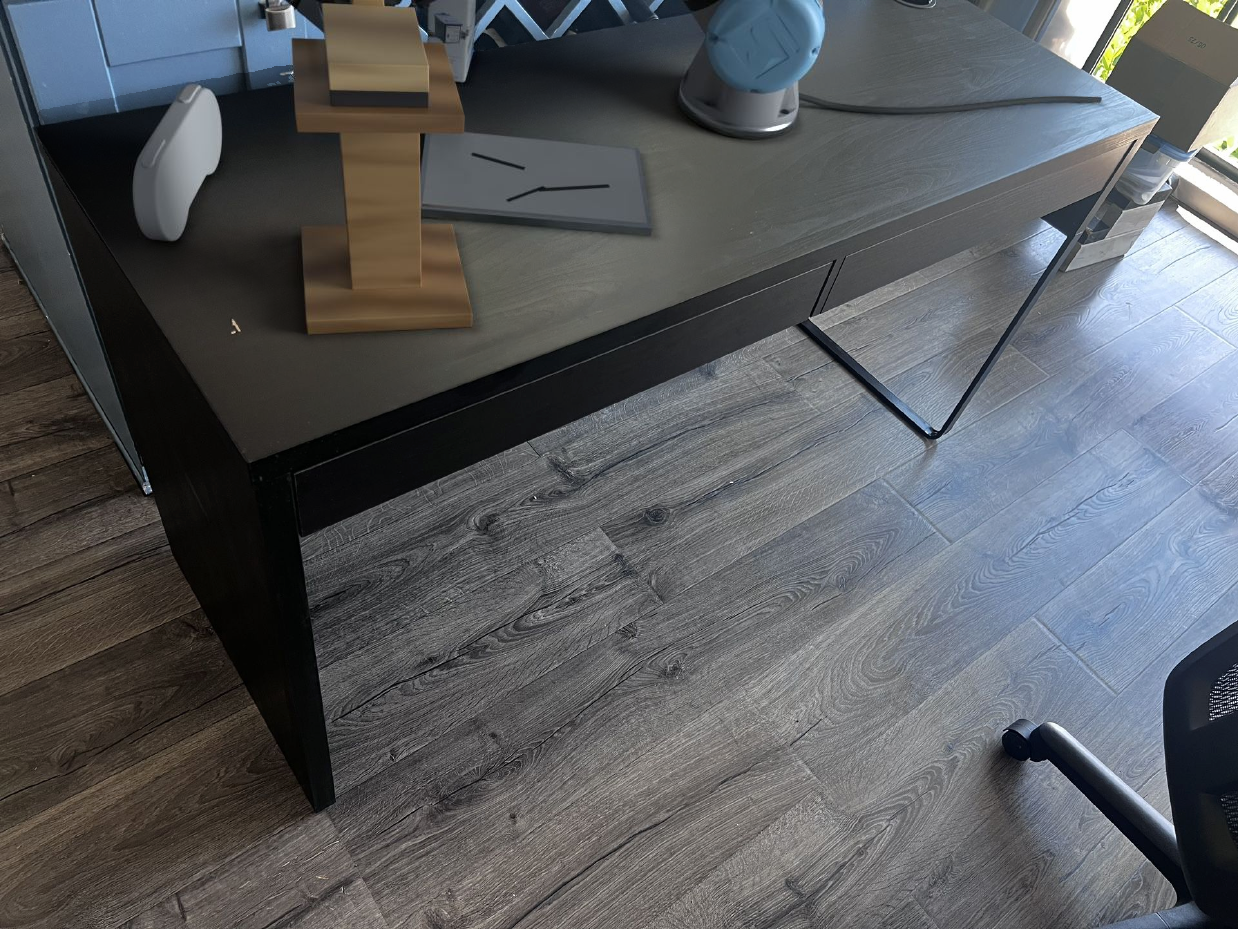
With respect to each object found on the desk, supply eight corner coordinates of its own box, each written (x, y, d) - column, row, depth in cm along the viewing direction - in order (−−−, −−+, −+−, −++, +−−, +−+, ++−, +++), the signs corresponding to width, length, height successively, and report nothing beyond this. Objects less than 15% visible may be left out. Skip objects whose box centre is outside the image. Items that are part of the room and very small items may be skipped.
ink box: (436, 47, 120) (437, -52, 111) (476, 53, 120) (479, -45, 112) (426, 77, 114) (425, -25, 105) (467, 83, 114) (470, -17, 106)
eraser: (429, 108, 70) (428, 57, 67) (331, 106, 68) (326, 54, 65) (400, -14, 84) (399, -60, 81) (318, -18, 82) (314, -65, 79)
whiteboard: (637, 156, 108) (639, 146, 108) (651, 236, 98) (653, 225, 97) (426, 136, 105) (426, 125, 104) (415, 216, 94) (415, 205, 93)
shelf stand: (472, 327, 84) (479, 122, 70) (307, 334, 80) (280, 119, 66) (451, 236, 93) (454, 37, 78) (302, 239, 89) (277, 31, 75)
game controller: (204, 146, 97) (188, 67, 91) (227, 149, 97) (213, 70, 91) (143, 256, 84) (120, 173, 78) (169, 259, 84) (149, 176, 78)
